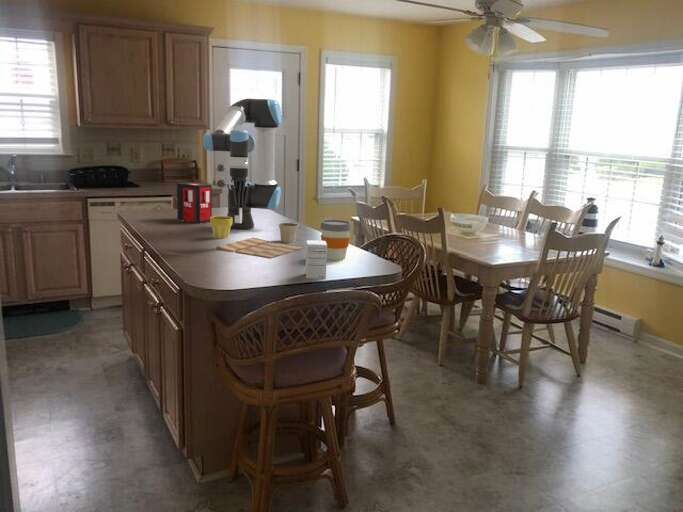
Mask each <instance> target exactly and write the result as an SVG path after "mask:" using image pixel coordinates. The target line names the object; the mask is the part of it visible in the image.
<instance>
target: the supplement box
mask: <svg viewBox="0 0 683 512" xmlns="http://www.w3.org/2000/svg"><path fill="white" fill-rule="evenodd" d="M305 241H306V242H305V278H306V279H318V280H319V279H320V280H321V279H322V280H323V279H324V280H325V279H327V260H328V259H327V243H326V241H321V240H311V239H308V240H305Z"/></svg>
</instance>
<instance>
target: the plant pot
mask: <svg viewBox="0 0 683 512" xmlns="http://www.w3.org/2000/svg"><path fill="white" fill-rule="evenodd" d="M232 222H233V218H232V217H228V216H227V215H212V217H210V222H209V224H210V227H211V230H212V235H213V239H214V240H215V239H226V238H227V239H228V238H229V235H230V232H231V229H230V228H231V225H232Z"/></svg>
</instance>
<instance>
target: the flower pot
mask: <svg viewBox="0 0 683 512" xmlns="http://www.w3.org/2000/svg"><path fill="white" fill-rule="evenodd" d="M277 224H278V228H279V234H280V235H279V236H280V243H284V244H291V243H295V242H296V237H297V231H298V228H299V226H300V225H299V223H295V222H278V223H277Z"/></svg>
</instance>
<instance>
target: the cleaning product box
mask: <svg viewBox="0 0 683 512" xmlns="http://www.w3.org/2000/svg"><path fill="white" fill-rule="evenodd" d="M212 186H213V185H212V184H206V183H199V182H198V183H197V182H192V181H191V182H190V181H188V182H177V183H176V196H177V198H176V199H177V200H176V204H177V207H176V209H177V213H176V214H177V220H178V219H179V220H184V221H183V222H185V221H190V222H189V223H191V222H194V223H193V224H196V223H199V224H198V225H201V224H200V223H203V224H207V223H206V222H209V223H210V217H212V216H213V215H212V214H213V213H212V212H213V211H212V209H213V208H212V205H213V204H212V198H213V197H212V195H213V194H212V191H213V190H212ZM179 220H178V221H179Z"/></svg>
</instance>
